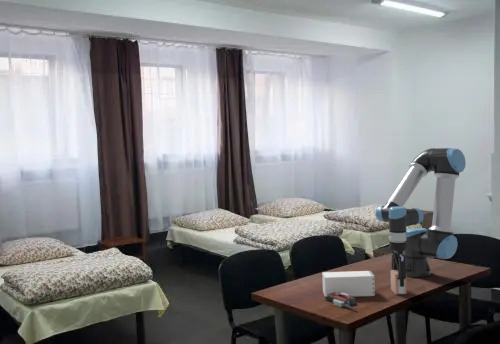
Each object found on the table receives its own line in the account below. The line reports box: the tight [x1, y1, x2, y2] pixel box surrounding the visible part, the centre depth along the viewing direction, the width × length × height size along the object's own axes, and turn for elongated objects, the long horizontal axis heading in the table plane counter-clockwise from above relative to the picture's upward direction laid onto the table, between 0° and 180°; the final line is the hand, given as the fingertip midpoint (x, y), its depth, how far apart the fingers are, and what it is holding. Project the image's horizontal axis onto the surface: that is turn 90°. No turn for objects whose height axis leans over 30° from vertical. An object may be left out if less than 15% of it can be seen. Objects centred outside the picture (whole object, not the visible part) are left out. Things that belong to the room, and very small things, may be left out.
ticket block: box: [321, 270, 376, 298], centre depth 235 cm, size 22×9×9 cm, turn 90°
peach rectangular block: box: [390, 269, 408, 295], centre depth 234 cm, size 5×8×9 cm, turn 0°
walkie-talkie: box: [324, 292, 358, 311], centre depth 220 cm, size 9×4×20 cm
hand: (398, 290), depth 235 cm, fingers open, 8 cm apart
